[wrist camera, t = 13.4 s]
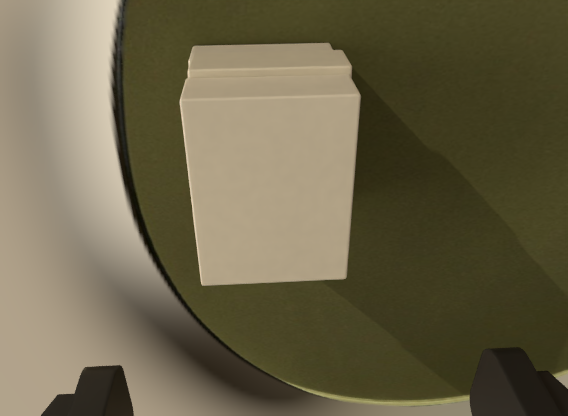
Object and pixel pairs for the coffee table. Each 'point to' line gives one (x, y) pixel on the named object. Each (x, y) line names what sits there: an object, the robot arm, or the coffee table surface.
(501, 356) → the robot arm
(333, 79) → the cream flat block
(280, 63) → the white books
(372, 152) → the coffee table surface
